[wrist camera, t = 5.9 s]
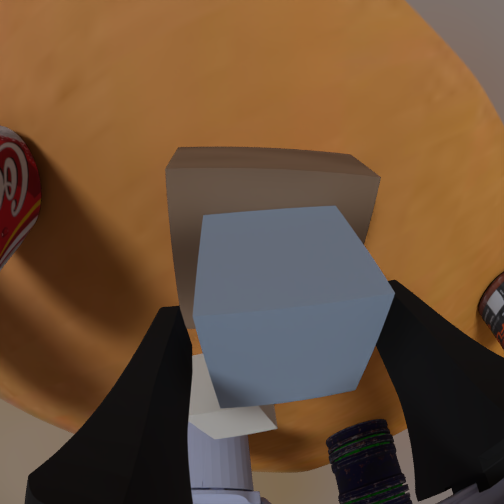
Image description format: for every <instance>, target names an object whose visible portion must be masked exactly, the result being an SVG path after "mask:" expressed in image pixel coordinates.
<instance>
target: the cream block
mask: <svg viewBox="0 0 504 504" xmlns="http://www.w3.org/2000/svg"><path fill="white" fill-rule="evenodd" d="M192 369H193V373H192V384H191V396H190V407H189V419H188V421H189V422H190V423H192V424H193V425H194V426H196V427H197V428H199V429H200V430H201V431H203V432H204V433H206V434H207V435H209V436H210V437H212V438H213V439H221V438H229V437H235V436H241V435H247V434H253V433H258V432H263V431H268V430H273V429H277V421H276V415H275V408H274V404H269V405H260V406H249V407H236V408H220V406H219V403H218V400H217V397H216V393H215V390H214V387H213V384H212V381H211V378H210V375H209V371H208V368H207V365H206V362H205V358H204V355H203V354H199V355H194V356H192Z"/></svg>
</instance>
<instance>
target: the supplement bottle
mask: <svg viewBox="0 0 504 504" xmlns="http://www.w3.org/2000/svg"><path fill="white" fill-rule="evenodd" d="M479 313H480V315H481V316H482V318H483V320H484V321H485V323H486V324H487V325H488V327H489V328H490V330H491V331H492V333H493V334H494V336H495V337H496V339H497V340H498V342H499V343H500V345H501V346H502V348H503V349H504V273H502V274H501V275H499V276H498V277H497V278H496V279H495V280H494V281H493V282H492V283H491V284H490V286H489V287H488V288H487V290H486V291H485V293H484V295H483V297H482V299H481V301H480V305H479Z"/></svg>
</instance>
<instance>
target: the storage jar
mask: <svg viewBox="0 0 504 504" xmlns="http://www.w3.org/2000/svg"><path fill="white" fill-rule="evenodd" d="M393 442H394V440H393V437H392V435H391V434H390V430H389V429H388V428H387V422H386V420H384V419H376V420H370V421H366V422H363V423H359V424H356V425H353V426H351V427H348V428H346V429H343V430H341V431H339V432H337V433H335V434H334V435H332V436H331V437H329V438H328V439H327V440H326V445H327V447H328V449H329V450H328V453H329V455H330V456H329V461H330V464H332V465H331V467H332V471H333V473H334V474H335V476H336V480H337V485H338V490H339V496H338V498H339V503H340V504H412V501H411V500H410V493H406V494H405V491H407V490H409V489H408V484H406V485H402V484H403V483H405V482H406V480H405V478H406V477H405V476H404V474H403V473H402V472H401V469H400V466H399V463H398V460H397V456H396V448H395V445H394V443H393Z"/></svg>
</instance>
